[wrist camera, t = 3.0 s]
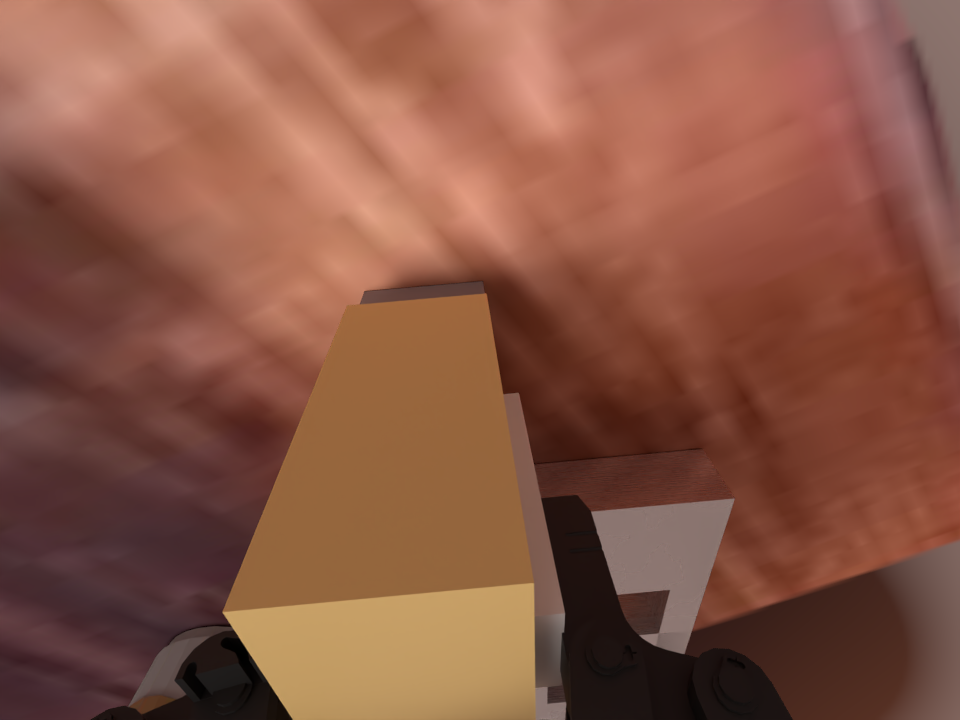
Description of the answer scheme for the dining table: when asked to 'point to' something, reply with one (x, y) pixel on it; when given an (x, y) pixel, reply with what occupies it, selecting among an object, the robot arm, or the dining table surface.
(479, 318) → the yellow block
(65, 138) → the dining table surface
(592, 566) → the robot arm
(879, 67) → the dining table surface
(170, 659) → the coffee cup
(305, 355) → the dining table surface
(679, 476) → the grey slotted base plate
